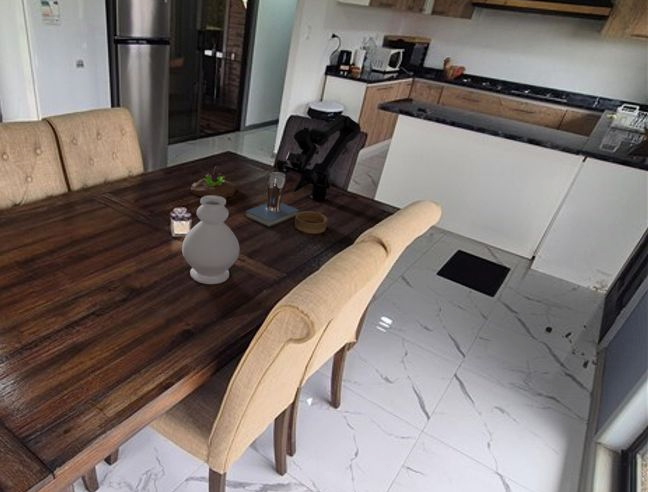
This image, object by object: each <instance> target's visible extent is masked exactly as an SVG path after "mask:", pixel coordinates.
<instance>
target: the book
mask: <svg viewBox="0 0 648 492" xmlns="http://www.w3.org/2000/svg"><path fill="white" fill-rule="evenodd" d="M267 204H268V202H267V203H264V204H261V205H258V206H255V207H253V208H250V209H247V210H245V215H244V217H246V218H247V219H250V220H252V221H255V222H257V223H258V224H261V225H264V226H266V227H268V228H270V227H273V226H276V225H278V224H281V223H283V222H286V221H287V220H291V219H293V218H295V217H296V214H297V213H299V212H300V209H298V208H295V207H293V206H291V205H288V204H286V203H283V202H281V211H280V212H279V213H270V212H268V211H266V207H267Z"/></svg>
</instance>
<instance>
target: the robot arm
mask: <svg viewBox="0 0 648 492" xmlns="http://www.w3.org/2000/svg"><path fill="white" fill-rule="evenodd" d="M361 130H362V127H361V125H360V123H359V122H357V121H355V120H354V119H352V118H351V116H349V115H345V114H338V116H337V117H336V118H334V119H332V120H331V121H330V122H328V123H326V124H324V125H322V126H316V127H313V128H311V129H310V128H309V127H303V129H299V130H298V131H296V133H294V140H295V142H296V144H297V146H298V148H299V149H300V152H296V153H294V152H291V151H288V153H287V155H286V158H285V160H283V159H281V158H279V159H277V160H276V161H275V166H276V168H277V169H278V172H281V173H284V174H285V175H286V176H287V175H288V174H287V173H289V172H292V173H294V174H298V175H300V179H299V181H298V182H297V184H296V185H295V186H294V188H293V192H294V193H296V192H298V191H299V190H301V189H303V188H304V187H306V186H308V185H312V187H311V194H308V195H307V197H308V198H309V199H312V200H313V201H314V202H321V201H327V200H328V198H327V197H326V195H327V189H330V188H331V186H332V179H331V175H332V172H331V171H332V168H333V166H334V165H335V163H336V161H338V159H339V157H340V155H341V154H342V152H343V151H344V149H345V148H346V146H347V145H348V143H350V142H352V141H353V140H355V139H356V138H357V137H358V136H359V135H360V133H361ZM337 132H338V137H337V138H336V140H335V141H334V142H333V144H332V146H331V148H330V149H329V150H328V152H327V154H326V155H325V156H324V158H323V160H322V161H321V162H320V163H319V162H316V163H314V165H313V167H312V168H308V167H310V166H311V165H312V163H311V161H312V160H313V158H314V157H315V155H319V154H320V151H319V147H318V146H320V147H322V146H324V145H326V144H327V142H329V141H330V140H329V139H330V137H331V136H333V135H334V134H336V133H337ZM287 161H289V162H287ZM288 163H289V164H288Z"/></svg>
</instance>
